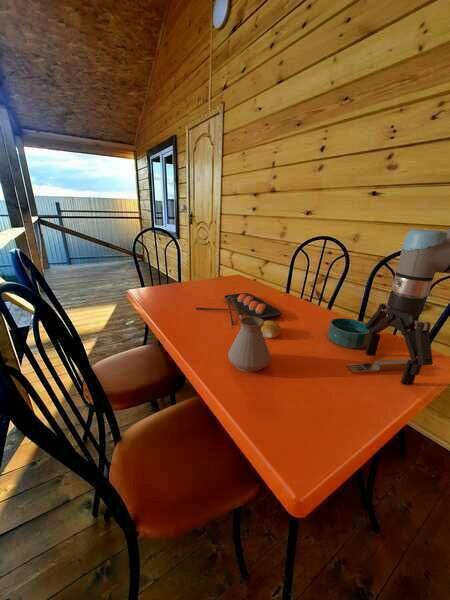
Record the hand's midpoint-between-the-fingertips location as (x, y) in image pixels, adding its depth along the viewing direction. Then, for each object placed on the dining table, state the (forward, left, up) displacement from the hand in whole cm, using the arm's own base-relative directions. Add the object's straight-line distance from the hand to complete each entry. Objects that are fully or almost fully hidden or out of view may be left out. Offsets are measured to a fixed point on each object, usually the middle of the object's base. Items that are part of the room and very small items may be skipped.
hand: (386, 367), depth 70 cm
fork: (+2, 0, 0) cm, 2 cm away
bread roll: (+27, -23, 0) cm, 35 cm away
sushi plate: (+35, -45, 0) cm, 57 cm away
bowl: (+2, -16, 0) cm, 16 cm away
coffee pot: (+39, -10, 0) cm, 40 cm away
